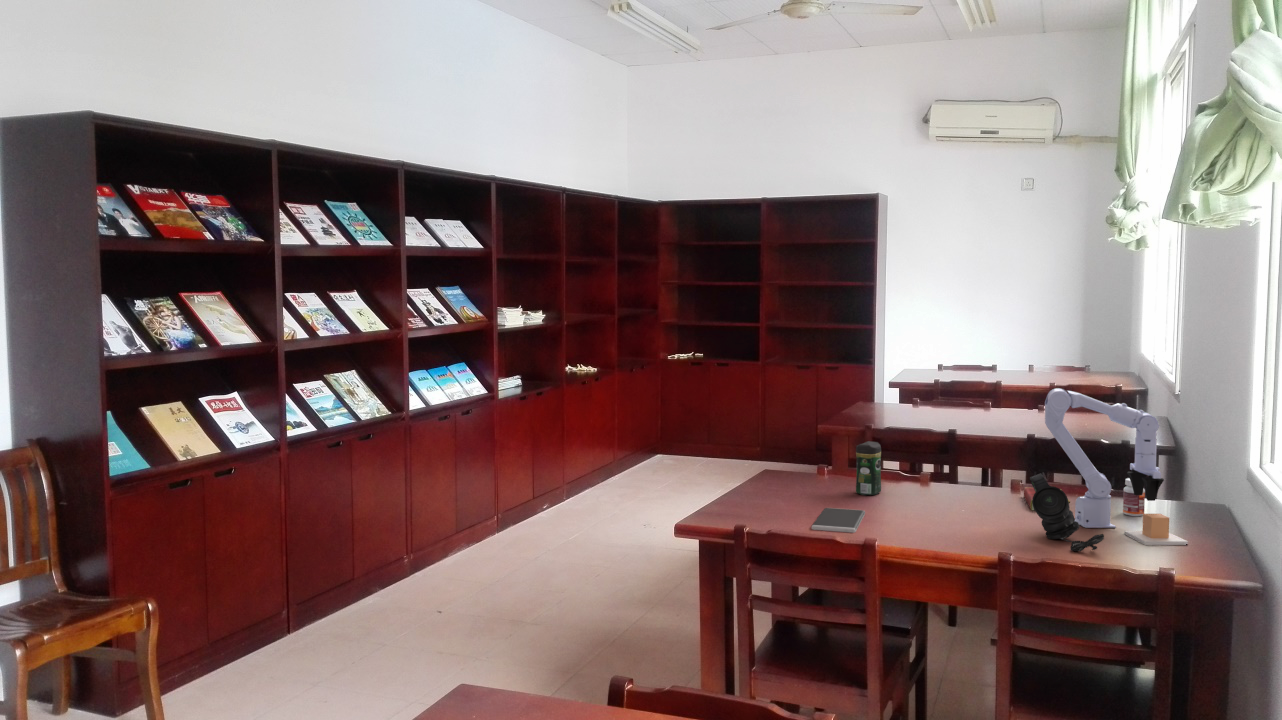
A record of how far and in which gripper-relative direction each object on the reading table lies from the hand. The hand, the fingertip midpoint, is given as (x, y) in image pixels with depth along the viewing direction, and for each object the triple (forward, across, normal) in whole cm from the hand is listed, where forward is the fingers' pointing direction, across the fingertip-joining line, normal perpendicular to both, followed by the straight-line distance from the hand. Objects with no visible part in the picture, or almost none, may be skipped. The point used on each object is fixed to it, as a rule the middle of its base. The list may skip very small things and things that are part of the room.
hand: (1144, 497), depth 287 cm
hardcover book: (+10, +33, +16) cm, 38 cm away
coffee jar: (+9, +51, +72) cm, 89 cm away
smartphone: (+10, +10, +90) cm, 91 cm away
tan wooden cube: (+8, -13, +3) cm, 16 cm away
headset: (+10, -14, +30) cm, 34 cm away
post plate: (+9, -13, +3) cm, 16 cm away
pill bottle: (+10, +18, -6) cm, 21 cm away
